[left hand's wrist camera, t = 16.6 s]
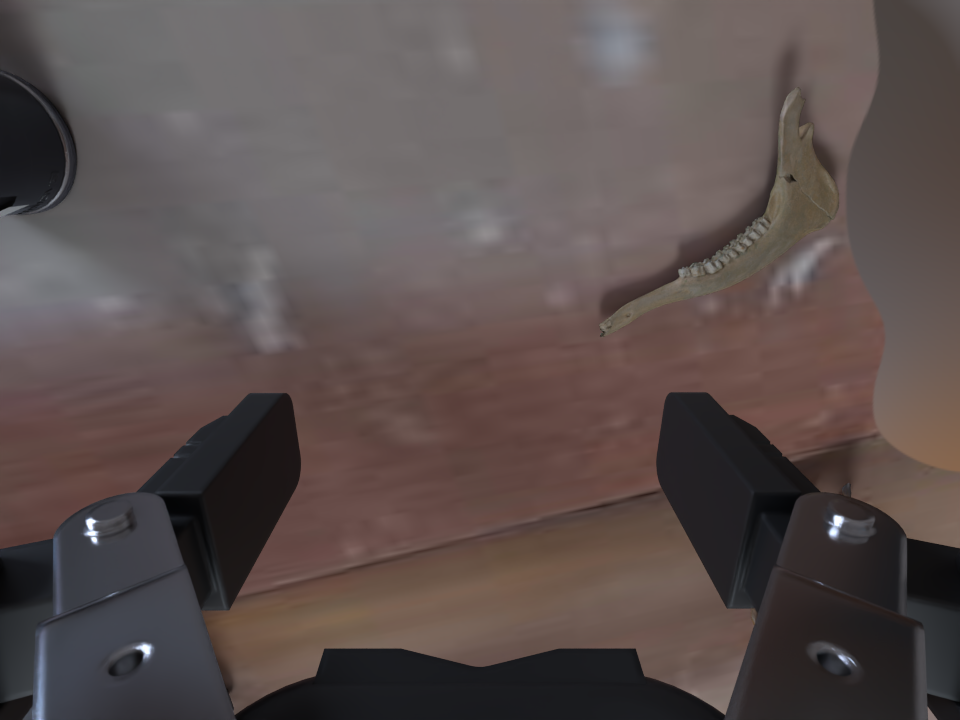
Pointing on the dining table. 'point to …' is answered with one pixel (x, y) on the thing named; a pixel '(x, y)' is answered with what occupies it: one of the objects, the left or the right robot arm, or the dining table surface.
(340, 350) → the dining table surface
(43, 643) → the left robot arm
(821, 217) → the jawbone
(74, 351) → the dining table surface
